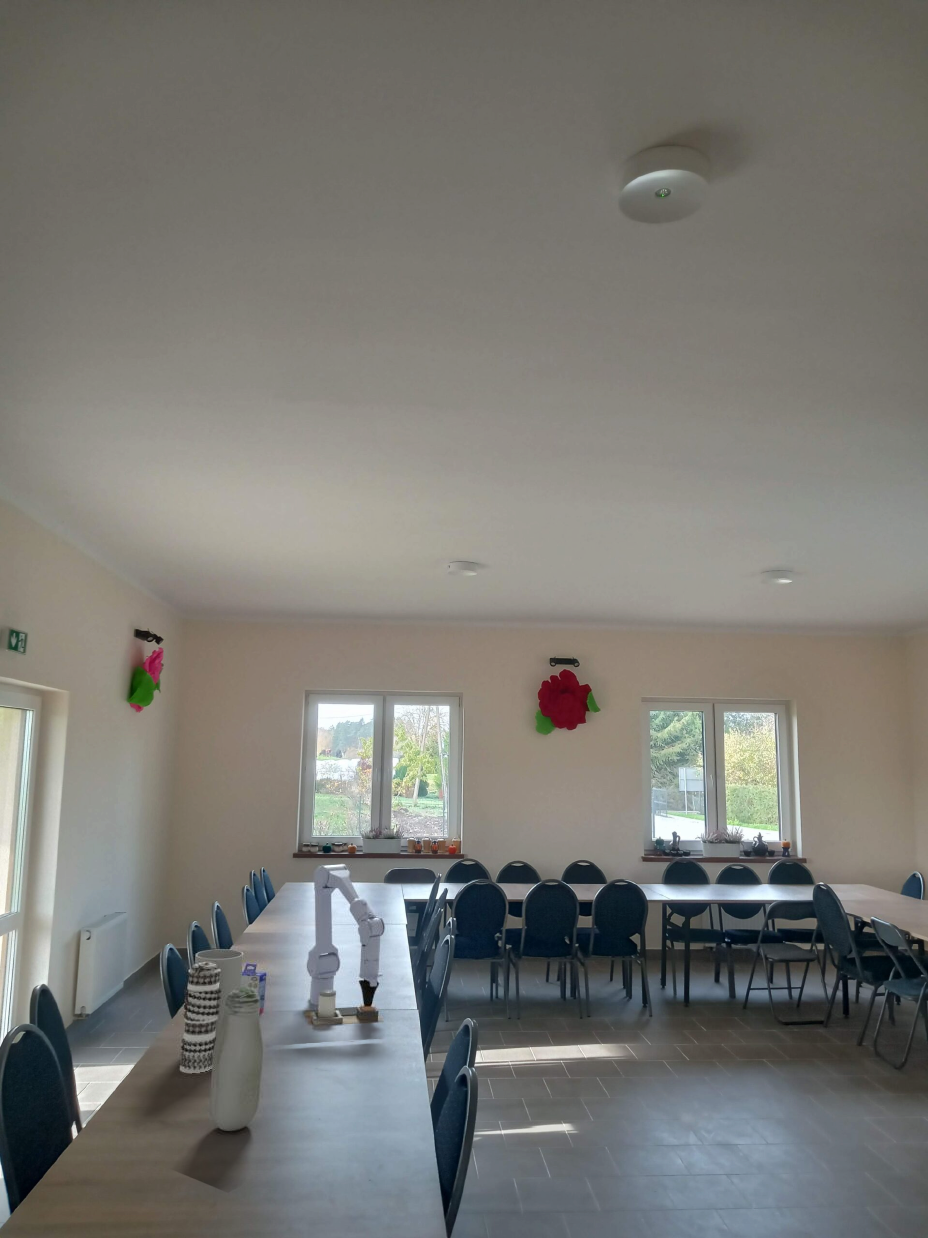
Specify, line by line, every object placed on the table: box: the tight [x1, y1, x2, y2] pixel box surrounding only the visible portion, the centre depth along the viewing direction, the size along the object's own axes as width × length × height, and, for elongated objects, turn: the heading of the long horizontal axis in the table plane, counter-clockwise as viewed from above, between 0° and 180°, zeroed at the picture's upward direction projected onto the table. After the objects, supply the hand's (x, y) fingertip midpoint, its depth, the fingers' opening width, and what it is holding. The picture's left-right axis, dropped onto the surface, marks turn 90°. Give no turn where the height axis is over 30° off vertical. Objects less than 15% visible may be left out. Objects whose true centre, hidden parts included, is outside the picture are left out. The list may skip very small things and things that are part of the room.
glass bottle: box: [209, 987, 264, 1132], centre depth 184 cm, size 10×10×28 cm
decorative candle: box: [179, 962, 221, 1075], centre depth 218 cm, size 9×9×25 cm
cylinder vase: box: [194, 948, 244, 1043], centre depth 230 cm, size 12×12×25 cm
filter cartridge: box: [317, 989, 337, 1018], centre depth 257 cm, size 5×5×8 cm
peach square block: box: [360, 1003, 376, 1011], centre depth 260 cm, size 4×4×3 cm
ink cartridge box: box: [241, 963, 267, 1014], centre depth 264 cm, size 10×6×14 cm, turn 78°
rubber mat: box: [335, 1006, 358, 1016], centre depth 265 cm, size 8×8×1 cm
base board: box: [302, 1005, 384, 1027], centre depth 261 cm, size 16×22×4 cm
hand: (367, 1006), depth 261 cm, fingers closed, pressing on peach square block
